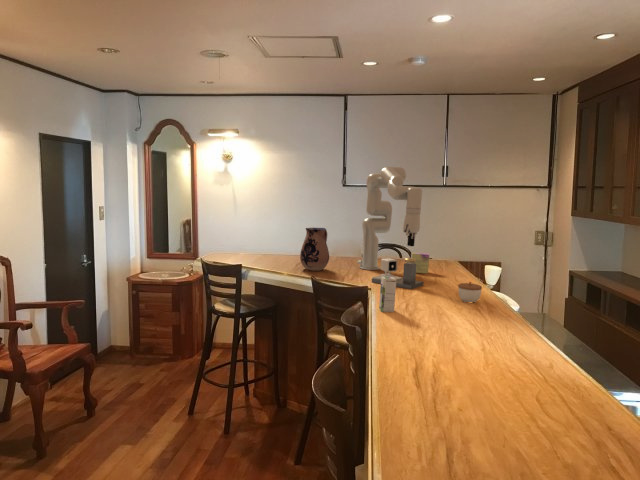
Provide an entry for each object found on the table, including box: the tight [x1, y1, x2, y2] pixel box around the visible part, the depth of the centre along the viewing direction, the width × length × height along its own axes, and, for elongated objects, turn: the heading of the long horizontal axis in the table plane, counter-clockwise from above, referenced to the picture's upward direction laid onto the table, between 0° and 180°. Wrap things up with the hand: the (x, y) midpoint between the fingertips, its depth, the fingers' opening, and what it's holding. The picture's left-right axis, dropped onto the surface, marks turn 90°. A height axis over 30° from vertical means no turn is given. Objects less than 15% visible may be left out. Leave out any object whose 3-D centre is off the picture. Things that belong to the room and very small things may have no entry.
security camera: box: [380, 257, 398, 277], centre depth 284 cm, size 6×7×10 cm
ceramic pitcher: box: [299, 227, 330, 272], centre depth 313 cm, size 18×21×25 cm
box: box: [410, 252, 430, 274], centre depth 316 cm, size 10×6×12 cm, turn 84°
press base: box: [371, 262, 424, 290], centre depth 280 cm, size 24×14×12 cm, turn 53°
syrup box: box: [378, 276, 397, 313], centre depth 224 cm, size 6×6×14 cm
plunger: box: [404, 257, 416, 264], centre depth 276 cm, size 6×6×12 cm
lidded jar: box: [457, 281, 483, 303], centre depth 246 cm, size 11×11×9 cm
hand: (410, 245), depth 275 cm, fingers closed
